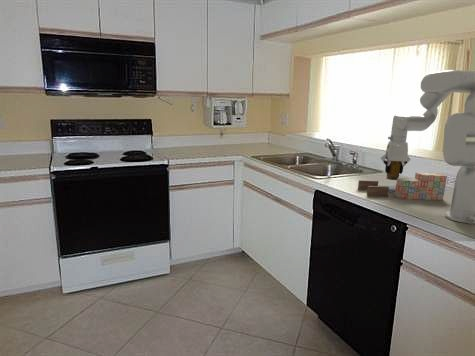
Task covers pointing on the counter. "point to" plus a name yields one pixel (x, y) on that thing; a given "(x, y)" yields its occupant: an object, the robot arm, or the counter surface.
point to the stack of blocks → (421, 186)
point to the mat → (392, 188)
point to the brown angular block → (373, 188)
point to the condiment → (394, 170)
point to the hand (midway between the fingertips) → (393, 172)
